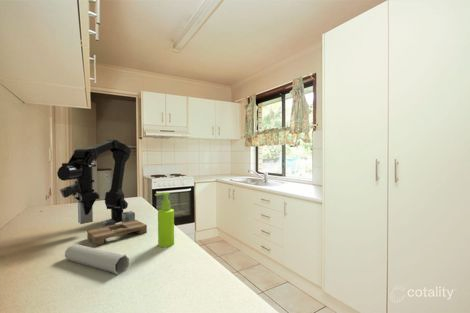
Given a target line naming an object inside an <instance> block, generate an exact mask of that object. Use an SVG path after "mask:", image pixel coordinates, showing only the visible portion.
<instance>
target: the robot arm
mask: <svg viewBox="0 0 470 313" xmlns="http://www.w3.org/2000/svg"><path fill="white" fill-rule="evenodd" d="M108 151H109V152H110V153H111V154H112V159H113V160H114V164H113V170H112V171H113V173H112V180H111V186H110V189H109V190H108V191H106V192H105V193H104V194H105V197H104V204H105V208H106V210H110V212H111V213H110V214H111V215H110V218H109V219H108V220H110V219H113V220H114V221H115V223H118V222H122V213H124V210H126V209H127V208H128V205H129V203H128V202H127V201H126V200H125V194H124V191H123V182H124V174H125V166H126V163H127V162H128V160H129V159H130V156H131V152H132V151H131V148H130V147H129V146H127V145H126V143H125V144H124V143H122V142H120V141H119V140H117V139H106V140H105V141H102V142H101V143H98V144H96V145H93V146H89V147H83V148H76V149H75V150H74V151H73V154H72V155H71V157H70V158H69V160H68V162H62V163H61V166H60V167H59V168H58V170H57V172H56V175H57V177H58V179H59V180H60V181H70V180H74V184H71V185H68V186H65V187H63V188H61V189H59V191H60V194H61V196H62V198H64V199H66V198H69V197H70V196H72V197H73V198H74V199H75V200H77V202H78V201H80V202H82V203H83V207H84V211H85V215H88V214H89V212H90V210H91V208H92V207H93V206H94V204H95V202H96V200H99V199H100V193H98V192H97V191H95V189H94V186H93V185H94V183H95V179H94V178H93V175H94V174H93V168H95V167H96V166H97V165H96V163H94V161H96V159H97V158H98V156H99V155H101V154H104V153H106V152H108Z"/></svg>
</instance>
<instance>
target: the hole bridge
mask: <svg viewBox="0 0 470 313" xmlns="http://www.w3.org/2000/svg"><path fill="white" fill-rule="evenodd" d="M147 226H148V225H147V224H146V223H143V222H141V221H139V220H137V219H135V220H133V221H129V222H124V223H122V222H120V223H117V224H116V223H115V225H110V226H106V227H102V226H101V227H98V228H93V229H89V230H88V229H87V230H86V232H87V233H86V236H87V240H88V241H89V242H90V243H91V244H92V245H93V246H94V247H99V246H103V245H105V239H109V238H113V237H118V236H122V235H126V234H130V233H137V234H138V235H144V234H147V233H148V230H147V229H148V228H147Z"/></svg>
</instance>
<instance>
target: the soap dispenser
mask: <svg viewBox="0 0 470 313" xmlns="http://www.w3.org/2000/svg"><path fill="white" fill-rule="evenodd" d="M154 196H155V197H158V196H163V198H162V199H163V200H161V201H160V203H161V204H160V205H161V206H160V207H161V208H160V209H159V210H157V237H158V238H157V239H158V240H157V242H158V243H157V244H158V247H159V248H170V247H173V246H174V245H175V209H173V208H171V201H170V200H169V196H170V192H168V191H167V192H166V191H165V192H158V193H155V194H154Z"/></svg>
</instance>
